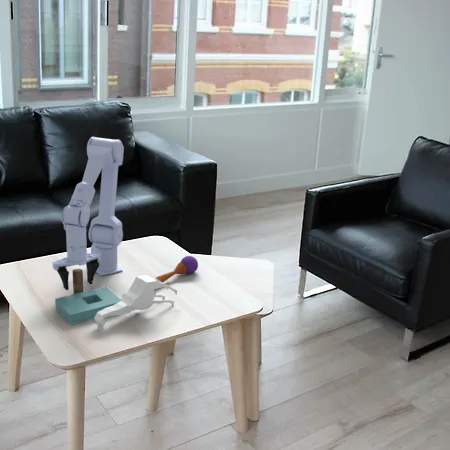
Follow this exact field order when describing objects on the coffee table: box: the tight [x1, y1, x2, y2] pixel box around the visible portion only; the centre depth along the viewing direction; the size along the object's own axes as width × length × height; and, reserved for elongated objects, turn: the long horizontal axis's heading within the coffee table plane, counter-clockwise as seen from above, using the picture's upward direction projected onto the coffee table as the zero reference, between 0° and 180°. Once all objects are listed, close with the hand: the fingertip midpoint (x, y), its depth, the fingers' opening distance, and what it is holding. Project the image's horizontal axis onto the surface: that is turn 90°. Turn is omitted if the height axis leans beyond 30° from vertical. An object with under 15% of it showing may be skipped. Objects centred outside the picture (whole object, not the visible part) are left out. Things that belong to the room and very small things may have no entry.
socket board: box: [54, 286, 121, 325], centre depth 184 cm, size 11×16×3 cm
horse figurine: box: [93, 274, 179, 330], centre depth 182 cm, size 5×16×25 cm
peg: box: [72, 268, 84, 295], centre depth 191 cm, size 3×3×8 cm
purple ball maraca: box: [154, 255, 199, 283], centre depth 205 cm, size 6×6×20 cm
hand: (78, 286), depth 192 cm, fingers open, 7 cm apart
